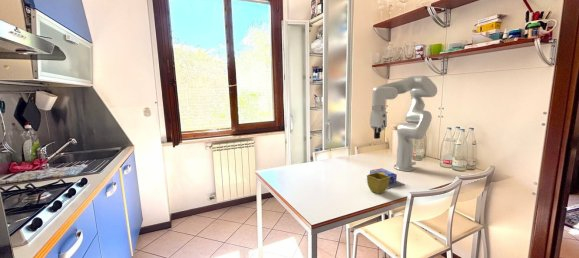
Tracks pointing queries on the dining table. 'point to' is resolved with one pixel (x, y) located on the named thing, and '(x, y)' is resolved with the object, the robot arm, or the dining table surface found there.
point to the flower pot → (377, 182)
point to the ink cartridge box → (385, 172)
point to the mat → (395, 184)
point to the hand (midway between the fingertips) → (376, 138)
